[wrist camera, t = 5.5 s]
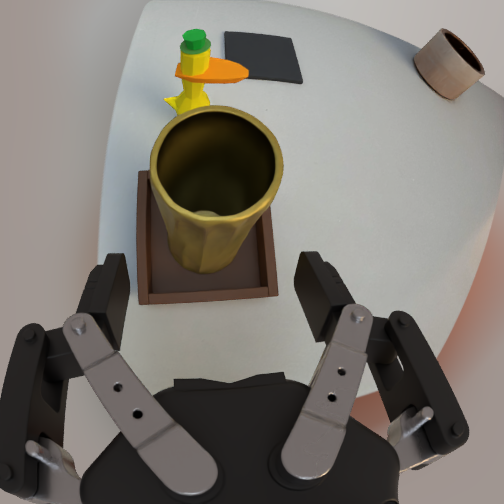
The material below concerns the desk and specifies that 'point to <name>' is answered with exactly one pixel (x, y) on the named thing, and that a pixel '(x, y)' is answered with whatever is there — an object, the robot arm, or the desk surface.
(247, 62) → the mat
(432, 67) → the planter
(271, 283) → the tray
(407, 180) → the desk surface
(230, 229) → the vase
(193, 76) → the toy figure
